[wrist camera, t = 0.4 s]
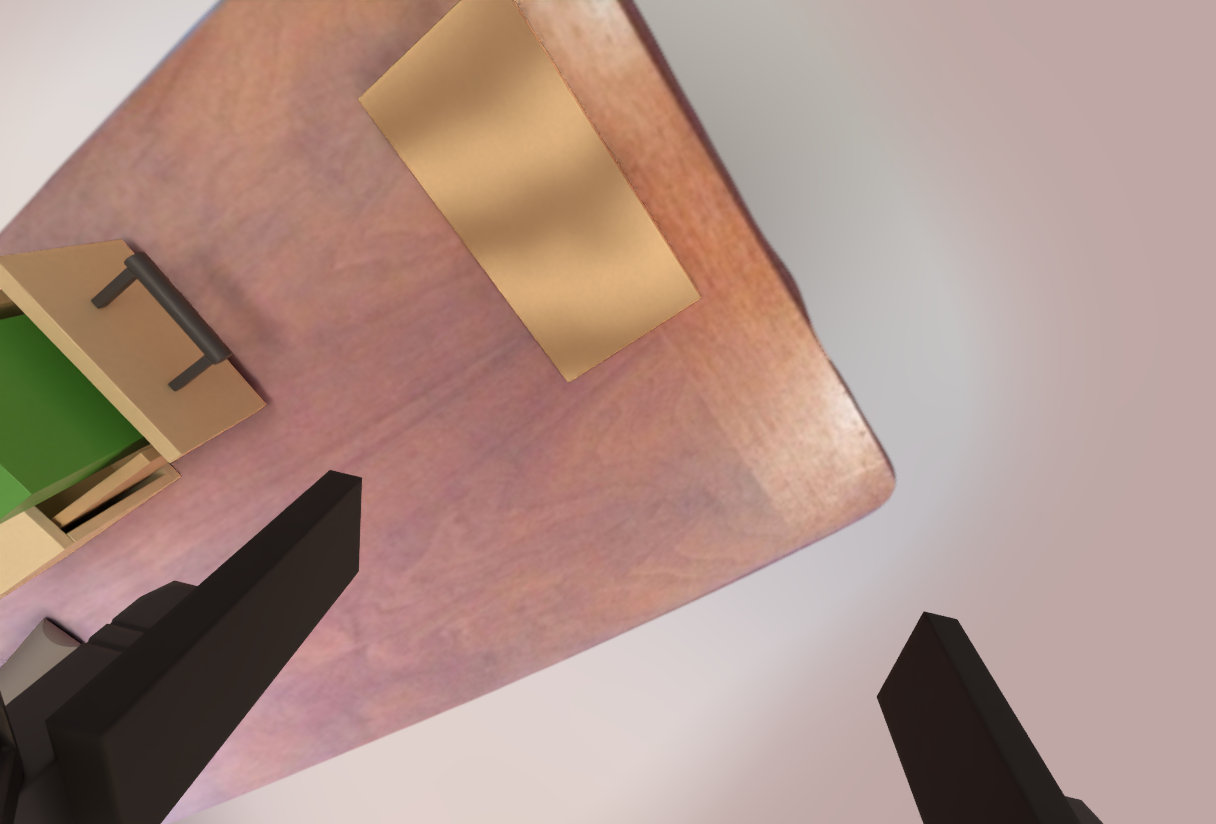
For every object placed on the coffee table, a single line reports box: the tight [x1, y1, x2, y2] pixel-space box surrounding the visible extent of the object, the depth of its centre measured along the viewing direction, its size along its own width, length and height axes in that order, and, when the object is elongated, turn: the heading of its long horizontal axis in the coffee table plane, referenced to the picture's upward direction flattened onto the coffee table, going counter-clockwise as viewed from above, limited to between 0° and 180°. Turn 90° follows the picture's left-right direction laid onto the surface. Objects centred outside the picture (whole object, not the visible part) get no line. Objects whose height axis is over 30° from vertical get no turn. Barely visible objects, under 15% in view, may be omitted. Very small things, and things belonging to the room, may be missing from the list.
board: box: [358, 0, 701, 383], centre depth 34 cm, size 20×10×1 cm, turn 35°
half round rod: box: [0, 619, 81, 706], centre depth 57 cm, size 4×20×2 cm, turn 133°
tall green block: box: [0, 314, 150, 524], centre depth 35 cm, size 5×9×12 cm, turn 33°
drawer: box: [0, 239, 266, 530], centre depth 38 cm, size 19×13×8 cm
